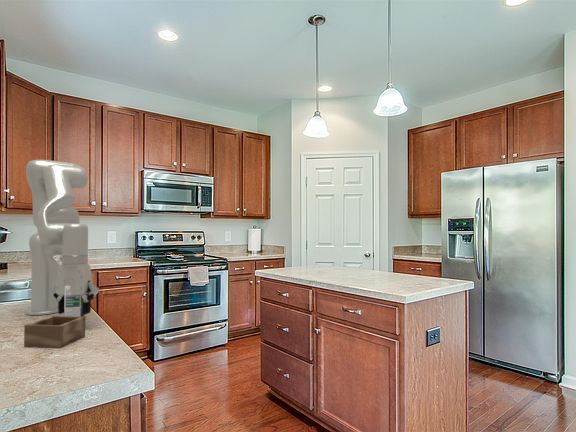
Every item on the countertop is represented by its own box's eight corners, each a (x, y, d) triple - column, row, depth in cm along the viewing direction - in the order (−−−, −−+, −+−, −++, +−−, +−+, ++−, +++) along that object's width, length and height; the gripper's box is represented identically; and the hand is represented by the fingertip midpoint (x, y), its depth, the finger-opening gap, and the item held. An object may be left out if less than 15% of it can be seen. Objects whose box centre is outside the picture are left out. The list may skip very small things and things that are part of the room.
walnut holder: (52, 335, 115) (52, 316, 115) (85, 336, 114) (85, 316, 114) (24, 346, 104) (24, 325, 105) (60, 348, 103) (60, 326, 104)
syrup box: (63, 331, 119) (64, 286, 120) (64, 327, 124) (65, 283, 125) (83, 329, 122) (84, 285, 122) (84, 325, 127) (84, 282, 127)
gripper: (42, 261, 121) (41, 315, 120) (92, 262, 119) (91, 316, 119) (58, 259, 128) (58, 310, 128) (106, 259, 127) (105, 311, 126)
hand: (74, 313), depth 123 cm, fingers closed on syrup box, 7 cm apart
